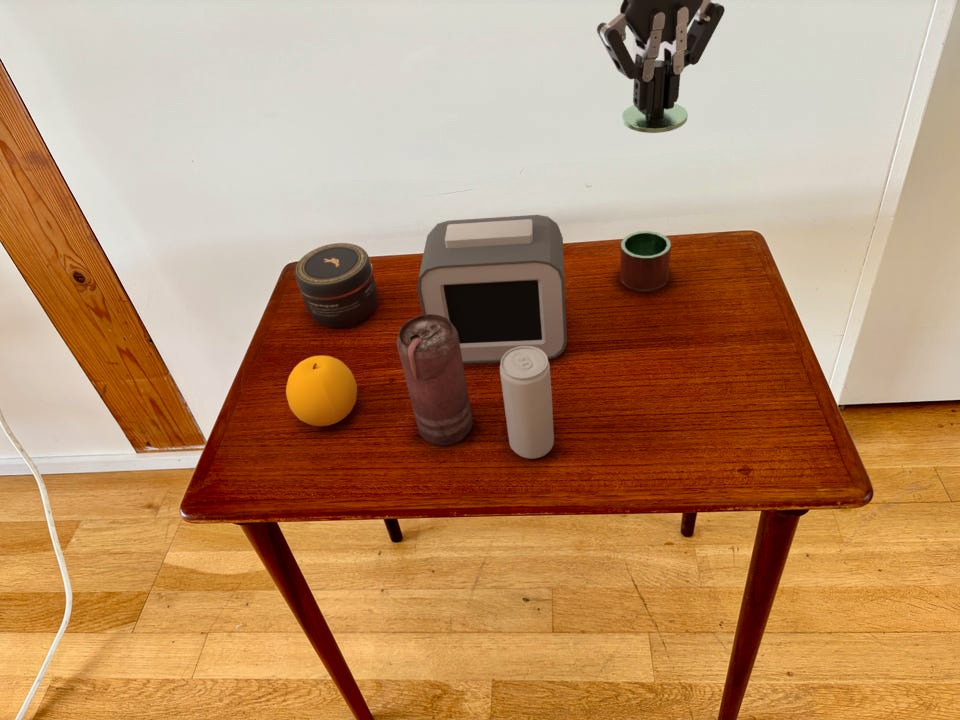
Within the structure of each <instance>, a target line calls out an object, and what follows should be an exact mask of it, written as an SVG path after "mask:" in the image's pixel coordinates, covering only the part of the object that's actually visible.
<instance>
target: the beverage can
mask: <svg viewBox="0 0 960 720" xmlns="http://www.w3.org/2000/svg"><path fill="white" fill-rule="evenodd" d="M499 374H500V382H501V383H500V384H501V389H502V390H501V391H502V398H503V406H504V411H505V412H504V413H505V418H506V428H507V435H508V443H509V446H510V449H511V450H512V451H513V452H514V453H515V454H516V455H518V456H520V457H521V458H524V459H528V460H531V459H532V460H536V459H539V458H540V459H541V458H542V457H544V456H546V455H547V454H548V453H549V452H550V451H551V450H552V448H553V447H554V444H555V432H554V418H553V417H554V415H553V413H554V412H553V395H552V394H553V393H552V381H551V380H552V379H551V366H550V362H549V359H548V358H547V356H546V354H545V353H544V352H543V351H542V350H540V349H539V348H536V347H533V346H520V347H516V348H513V349H511V350H509V351H508V352H506V353H505V354H504V356H503V357H502V359H501V362H500V365H499Z"/></svg>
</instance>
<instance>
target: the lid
mask: <svg viewBox="0 0 960 720" xmlns="http://www.w3.org/2000/svg"><path fill="white" fill-rule="evenodd" d="M667 66H668V64H667V62H666V61H662V59H660V60H659V59H658V60H657V59H656V60H655V67H654V74H653V78H652V80H654V91H653V107H652V113H651V114H647V115H644V114H643V113H641V112H640V111H639V110H638V108H636V107H635V106H634V104H633V105H630V106H629V107H627V108H625V109H624V110H623V112H622V115H621V121H622V123H623V125H624V126H625V127H626V128H628V129H630V130H632V131H636V132H640V133H646V134H659V133H665V132H667V133H668V132H671V131H674V130H677V129H680V128H681V127H683V126H684V125H685V124H686V123H687V122H688V118H689V117H688V115H689V114H688V113H689V112H688V110H687V109H686V108H685V107H683V106H681V105H680V104H677V103H676V102H674V107H673V108H671V109H667V110H666V109H665V94H666V80H667Z"/></svg>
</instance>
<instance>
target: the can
mask: <svg viewBox="0 0 960 720" xmlns="http://www.w3.org/2000/svg"><path fill="white" fill-rule="evenodd" d="M396 348H397V352H398V355H399V359H400V364H401V367H402V372H403V375H404V379H405V383H406V387H407V391H408V395H409V399H410V403H411V407H412V410H413V414H414V419H415V422H416V426H417V430H418V433H419V435H420V436H421V438H423V440H425V441H427V442H428V443H430V444H432V445H434V446H440V447H441V446H442V447H444V446H451V445H455V444H457V443H459V442H461V441H463V440H464V438H466V436H467V435H468V434H469V433H470V432H471V430H472V427H473V423H474V421H473V420H474V419H473V413H472V407H471V400H470V396H469V395H470V394H469V390H468V383H467V378H466V371H465V367H464V364H463V360H462V355H461V349H460V343H459V338H458V332H457V330H456V328H455V327H454V326H453V325H452V323H451V322H450V321H449V320H448V319H447V318H445V317H443V316H440V315H433V314H428V315H423V314H422V315H421V314H420V315H418V316H415V317H413V318H410V319H409V320H407V321H406V322H405V323H403V325H401V327H400V328H399V331H398V335H397V339H396Z"/></svg>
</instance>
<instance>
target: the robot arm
mask: <svg viewBox="0 0 960 720" xmlns="http://www.w3.org/2000/svg"><path fill="white" fill-rule="evenodd" d="M619 7H620V8H619V14H618V15H616V16H615V17H614V18H613V19H612V20H611V21H609V22H608V23H606V22H600V23H599V24H598V25H597V27H596V32H597V35H598V37H599V39H600V40H601V42H602V44H603V46H604V48H605V50H606V52H607V53H608V55H609V57H610V59H611V61H612V63H613V64H614V66H615V68H616V70H617V71H618V72H619V73H620V74H622V75H623V76H624V77H626V78H627V79H629V80H633V92H632V96H633V97H632V103H633V105H634V106H635V107H636V108H638V110H639V111H640V112H641V113H643V114H644V115H647V114H651V113H652V107H653V91H654V80H652V78H653V74H654V67H655V61H656V60H657V59H658V58H659V56H660V49H661V57H662V58H661V60H662V61H666V62H667V64H668V66H667V80H666V94H665V109H666V110H667V109H671V108H673V107H674V103H677V101H678V99H679V97H680V95H679V94H680V84H681V83H680V82H681V74H682V73H683V72H684V70H685V68H686V67H688V66H690V65H692V66H695V65H697V64H698V63H699V61H700V59H701V58H702V56H703V54H704V52H705V50H706V48H707V47H708V44H709V42H710V40H711V38H712V37H713V35H714V33H715V31H716V29H717V27H718V25H719V23H720V22H721V20H722V18H723V16H724V14H725V12H726V11H725V7H724V5H722V4H720V3H718V2H716V1H714V0H622V3H621V5H620V6H619ZM691 22H692V23H691ZM690 24H691V25H690ZM689 26H690V27H689ZM626 27H628V29H629V30H630V32H631V33H632V35H633V37H632V51H633V58H632V56H631V54H630V52H629V50H628V48H627V46H626V45H625V42H624V41H626V39H627V33H626ZM688 28H689V29H688Z"/></svg>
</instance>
